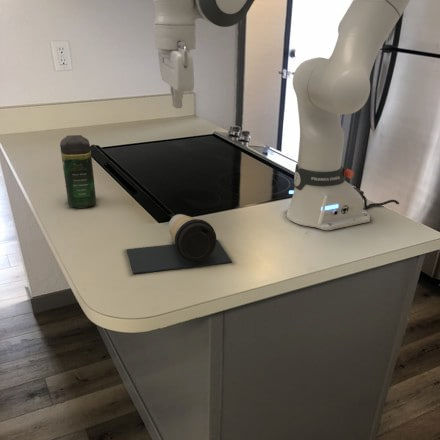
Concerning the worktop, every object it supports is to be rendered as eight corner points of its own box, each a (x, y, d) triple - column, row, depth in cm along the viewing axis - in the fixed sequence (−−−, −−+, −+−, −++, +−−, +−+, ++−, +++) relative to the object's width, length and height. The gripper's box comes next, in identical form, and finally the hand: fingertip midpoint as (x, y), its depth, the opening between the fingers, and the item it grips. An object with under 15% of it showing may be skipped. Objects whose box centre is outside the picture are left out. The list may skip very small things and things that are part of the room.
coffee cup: (199, 207, 117) (220, 221, 104) (197, 245, 121) (217, 263, 107) (161, 206, 114) (178, 221, 101) (159, 245, 117) (175, 264, 104)
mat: (217, 241, 119) (217, 239, 119) (231, 262, 109) (231, 261, 109) (126, 250, 113) (126, 249, 113) (133, 274, 103) (133, 272, 103)
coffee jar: (97, 207, 137) (89, 140, 127) (68, 210, 135) (58, 141, 125) (96, 196, 145) (88, 132, 135) (68, 198, 143) (58, 133, 133)
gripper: (201, 43, 98) (201, 115, 105) (180, 37, 114) (181, 99, 122) (170, 43, 96) (172, 116, 103) (153, 37, 113) (156, 100, 120)
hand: (177, 107), depth 113 cm, fingers closed
